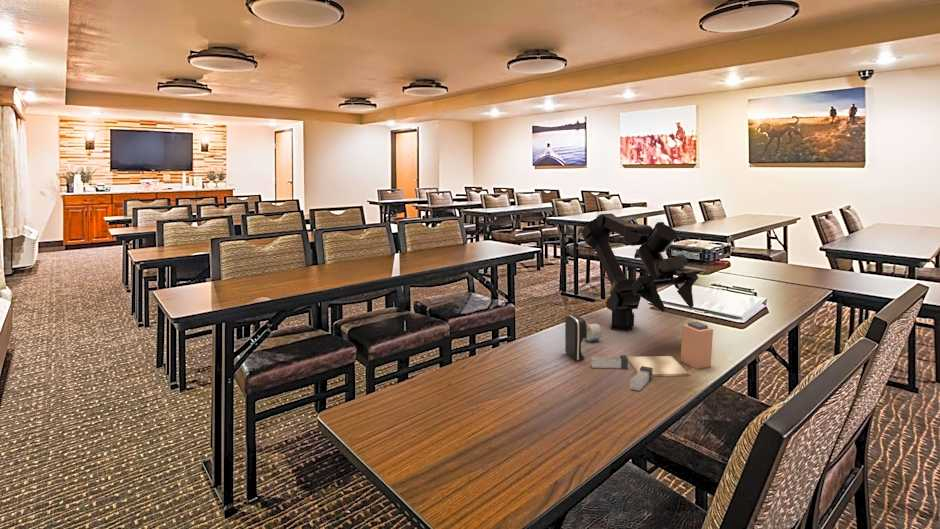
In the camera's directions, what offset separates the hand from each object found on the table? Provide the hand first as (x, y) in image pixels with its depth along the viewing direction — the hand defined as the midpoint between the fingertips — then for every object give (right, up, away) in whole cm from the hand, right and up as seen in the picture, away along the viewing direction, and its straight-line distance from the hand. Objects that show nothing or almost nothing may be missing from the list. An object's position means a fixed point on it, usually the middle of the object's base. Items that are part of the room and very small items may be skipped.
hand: (678, 308), depth 143 cm
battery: (-27, -14, +3) cm, 30 cm away
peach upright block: (+3, -14, -5) cm, 15 cm away
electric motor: (-20, -11, +15) cm, 28 cm away
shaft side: (-20, -15, -5) cm, 25 cm away
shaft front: (-15, -17, -16) cm, 27 cm away
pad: (-8, -15, -6) cm, 18 cm away
